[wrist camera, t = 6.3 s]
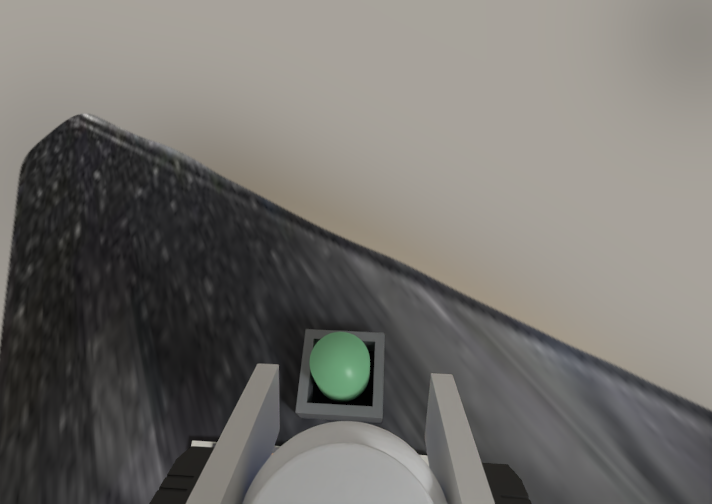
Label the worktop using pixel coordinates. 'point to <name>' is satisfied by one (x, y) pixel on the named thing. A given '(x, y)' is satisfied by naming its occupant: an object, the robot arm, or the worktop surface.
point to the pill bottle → (345, 469)
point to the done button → (340, 366)
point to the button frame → (335, 411)
